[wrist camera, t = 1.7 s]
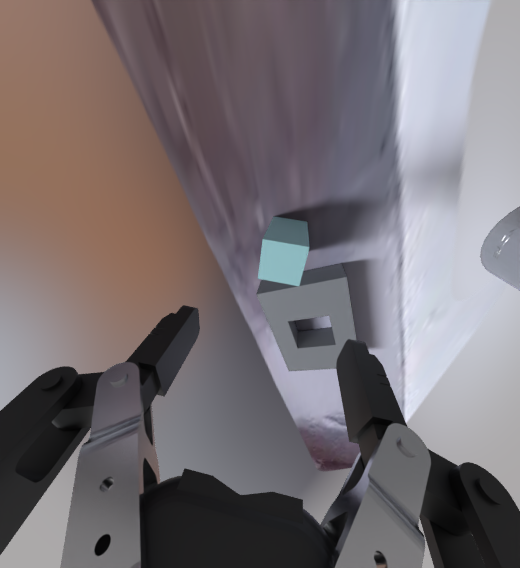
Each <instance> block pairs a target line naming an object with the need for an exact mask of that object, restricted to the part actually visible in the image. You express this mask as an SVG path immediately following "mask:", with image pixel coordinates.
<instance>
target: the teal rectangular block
mask: <svg viewBox="0 0 520 568" xmlns="http://www.w3.org/2000/svg"><path fill="white" fill-rule="evenodd" d="M308 251H309V236H308V226H307V222H306V221H299V220H293V219H287V218H281V217H273V219H272V221H271V223H270V225H269V227H268V229H267V231H266V233H265V236H264V238H263V242H262V250H261V258H260V266H259V274H258V279H263V280H268V281H273V282H279V283H284V284H289V285H295V286H299V285H300V281H301V277H302V274H303V270H304V266H305V262H306V259H307V255H308Z"/></svg>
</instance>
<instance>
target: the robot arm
mask: <svg viewBox="0 0 520 568" xmlns="http://www.w3.org/2000/svg"><path fill="white" fill-rule="evenodd" d="M480 257H481V261H482V264H483V266H484V267H485V269H486V270H488V271H489V272H490V273H492V274H493V275H495V276H497V277H498V278H500V279H501V280H503V281H505V282H506V283H508V284H510V285H511V286H513V287H515V288H516V289H518V290H519V291H520V207H518V208H517V209H515V210H513V211H512V212H510V213H509V214H508V215H507V216H505V217H504V218H503V219H502V220H501V221H499V222H498V223H497V224H496V226H495V227H494V228H493V229H492V230H491V231H490V233H489V234H488V236H487V237H486V239H485V241H484V243H483V245H482V248H481V256H480ZM199 329H200V326H199V313H198V309H197V308H193V307H189V306H182V307H181V308H180V309H179V311H178V312H177V313H176V314H174V313H170V314H169V315H167V316H166V317H164V318H163V319H162V320H161V321H160V322H159V323H158V324H157V325H156V328H154V329H153V330H152V331H151V333H150V334H149V335H148V336H147V337H146V338H145V340H144V341H143V342H142V343H141V344H140V346H139V347H138V348H137V349H136V350H135V352H134V353H133V354H132V355H131V356H130V357H129V359H128V360H127V361H126V362H123V363H119V364H116V365H114V366H112V367H110V368H109V369H107V370H106V371H105V372H100V373H90V374H78V373H77V372H76V370H75V369H74V368H72V367H59V368H55V369H52V370H50V371H48V372H46V373H44V374H42V375H41V376H39V377H38V378H37V379H36V380H34V381H33V382H32V383H31V384H30V385H29V386H28V387H26V388H25V389H24V390H23V391H22V392H21V393H20V394H19V395H18V396H16V397H15V398H14V399H13V400H12V401H11V402H10V403H9V404H8V405H6V406H5V407H4V408H3V409H2V410H1V411H0V555H1V553H2V552H3V551H4V549H5V548H6V546H7V545H8V544H9V542H10V541H11V539H12V538H13V536H14V535H15V534H16V532H17V531H18V529H19V528H20V527H21V525H22V524H23V522H24V521H25V520H26V518H27V517H28V515H29V514H30V513H31V511H32V510H33V508H34V507H35V506H36V504H37V503H38V501H39V500H40V499H41V497H42V496H43V494H44V493H45V491H46V490H47V488H48V487H49V486H50V485H51V483H52V482H53V480H54V479H55V477H56V476H57V475H58V473H59V472H60V470H61V469H62V468H63V466H64V465H65V463H66V462H67V461H68V459H69V458H70V456H71V455H72V453H73V452H74V451H75V449H76V448H77V446H78V445H79V444H80V442H81V441H82V439H83V438H84V436H85V435H86V434H87V432H88V431H89V430H90V428H91V432H90V437H89V440H88V442H86V443H84V445H82V447H81V449H80V452H79V457H78V462H77V468H76V474H75V481H74V487H73V493H72V500H71V506H70V512H69V518H68V524H67V531H66V537H65V543H64V549H63V555H62V561H61V568H422V563H423V557H424V551H425V540H424V535H423V534H422V532H421V531H420V530H419V527H418V522H419V517H420V520H421V524H422V527H423V531H424V534H425V537H426V541H427V544H428V547H429V551H430V554H431V558H432V561H433V564H434V568H520V511H519V509H518V507H517V506H516V504H515V502H514V501H513V499H512V497H511V496H510V494H509V493H508V491H507V490H506V489H505V488H504V486H503V485H502V484H501V483H500V482H499V481H498V480H497V479H496V478H495V477H494V476H493V475H492V474H490V473H489V472H488V471H486V470H485V469H484V468H482V467H480V466H478V465H476V464H474V463H469V462H467V463H463V464H461V465H459V466H457V465H456V464H454V463H452V462H450V461H448V460H447V459H445V458H443V457H441V456H439V455H437V454H436V453H434V452H432V451H431V450H429V449H427V447H426V445H425V444H424V442H423V441H422V440H421V439H420V437H419V436H418V435H417V434H416V433H415V432H413V431H412V430H411V429H410V428H408V427H407V425H406V423H405V420H404V418H403V415H402V413H401V410H400V408H399V405H398V403H397V400H396V398H395V395H394V393H393V390H392V388H391V387H390V383H389V380H388V378H387V377H386V376H387V375H386V373H385V370H384V368H383V366H382V364H381V363H380V362H379V360H378V359H377V358H376V357H375V355H372V354H369V351H368V349H367V346H366V344H365V343H364V342H361V341H356V340H351V339H348V340H347V341H346V342H345V344H344V346H343V348H342V350H341V352H340V354H339V356H338V358H337V363H336V369H337V375H338V381H339V386H340V392H341V397H342V403H343V409H344V414H345V420H346V426H347V431H348V437H349V442H353V443H357V444H359V447H360V453H359V454H358V456H357V458H356V460H355V462H354V464H353V466H352V468H351V470H350V472H349V475H348V476H347V478H346V480H345V482H344V484H343V487H342V489H341V491H340V493H339V495H338V496H337V498H336V499H335V501H334V502H333V503H332V505H331V506H330V508H329V509H328V511H327V513H326V515H325V516H324V519H323V521H322V522H321V524H319V523H318V522H317V521H316V520H315V519H314V518H313V516H311V515H310V514H309V513H308V512H307V511H306V510H304V509H303V500H301V499H298V498H294V497H290V496H287V495H283V494H278V493H275V492H267V493H258V494H249V495H239V494H238V493H236V492H235V491H233V490H232V489H230V488H229V487H227V486H226V485H225V484H223V483H222V482H220V481H219V480H218V479H216V478H215V477H214V476H211V475H207V474H204V473H200V472H196V471H192V470H189V469H184V472H183V474H182V476H177V477H174V478H170V479H167V480H165V481H163V482H161V483H160V472H159V465H158V459H157V454H156V447H155V437H154V424H153V411H152V401H153V400H154V398H155V396H156V395H161V396H165V395H166V393H167V391H168V389H169V387H170V386H171V384H172V382H173V380H174V379H175V377H176V375H177V373H178V371H179V370H180V368H181V366H182V364H183V362H184V361H185V359H186V357H187V355H188V354H189V352H190V350H191V348H192V346H193V344H194V343H195V341H196V339H197V337H198V334H199ZM472 535H473V536H472ZM480 554H481V555H480ZM483 561H484V562H483Z"/></svg>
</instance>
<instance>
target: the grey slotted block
mask: <svg viewBox="0 0 520 568" xmlns="http://www.w3.org/2000/svg"><path fill="white" fill-rule="evenodd" d="M257 297H258V299H259V301H260V304H261V306H262V309H263V311H264V313H265V316H266V318H267V320H268V323H269V325H270V328H271V330H272V332H273V335H274V337H275V339H276V342H277V344H278V347H279V349H280V351H281V354H282V356H283V358H284V361H285V363H286V365H287V368H288V370H289V371H302V370H320V369H336V363H337V358H338V356H339V354H340V352H341V350H342V348H343V346H344V344H345V342H346V341H347V340H348V339H351V340H356V334H355V327H354V321H353V314H352V308H351V301H350V295H349V289H348V282H347V276H346V274H345V271H344V269H343V266H342V263H340V264H336V265H331V266H326V267H322V268H317V269H313V270H308V271H303V274H302V277H301V281H300V285H299V286H295V285H289V284H284V283H279V282H273V281H268V280H262V281H261V282H260V285H259V288H258V292H257ZM323 316H329V317H330V321H331V326H332V327H331V328H323V329H315V330H306V331H298V330H297V328H296V325H295V322H294V321H295V320H302V319H309V318H316V317H323ZM356 341H357V340H356Z"/></svg>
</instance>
